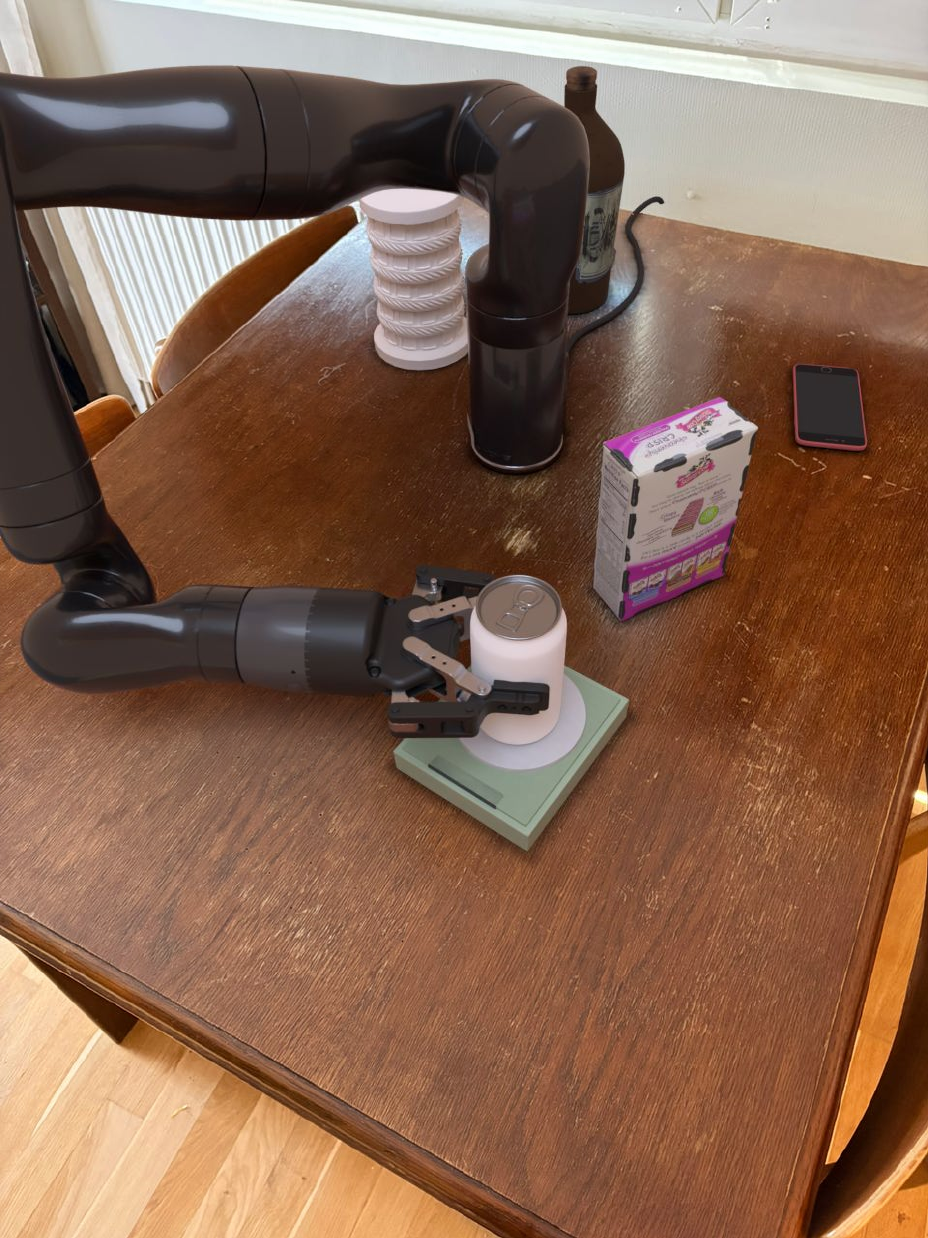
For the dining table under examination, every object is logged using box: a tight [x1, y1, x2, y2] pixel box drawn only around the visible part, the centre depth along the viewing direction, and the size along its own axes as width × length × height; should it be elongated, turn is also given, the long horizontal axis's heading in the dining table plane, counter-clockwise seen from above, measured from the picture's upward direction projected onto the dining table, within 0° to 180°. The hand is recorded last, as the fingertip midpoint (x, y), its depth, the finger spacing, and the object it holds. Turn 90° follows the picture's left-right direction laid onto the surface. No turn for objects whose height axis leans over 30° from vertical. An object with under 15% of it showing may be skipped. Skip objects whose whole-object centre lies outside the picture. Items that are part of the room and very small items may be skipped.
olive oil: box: [563, 65, 626, 315], centre depth 102 cm, size 11×11×25 cm
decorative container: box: [358, 189, 468, 371], centre depth 99 cm, size 12×12×18 cm
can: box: [469, 574, 568, 745], centre depth 63 cm, size 6×6×12 cm
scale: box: [392, 664, 630, 852], centre depth 68 cm, size 14×12×3 cm
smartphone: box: [792, 363, 868, 452], centre depth 94 cm, size 7×1×14 cm
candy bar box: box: [592, 396, 759, 622], centre depth 73 cm, size 11×5×16 cm, turn 117°
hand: (551, 656), depth 62 cm, fingers closed on can, 6 cm apart
